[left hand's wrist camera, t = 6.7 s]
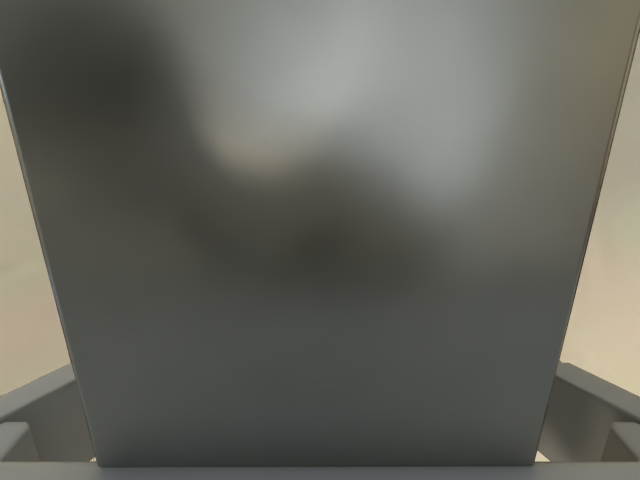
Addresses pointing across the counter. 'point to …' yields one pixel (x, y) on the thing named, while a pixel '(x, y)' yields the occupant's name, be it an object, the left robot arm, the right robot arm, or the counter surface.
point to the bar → (314, 217)
